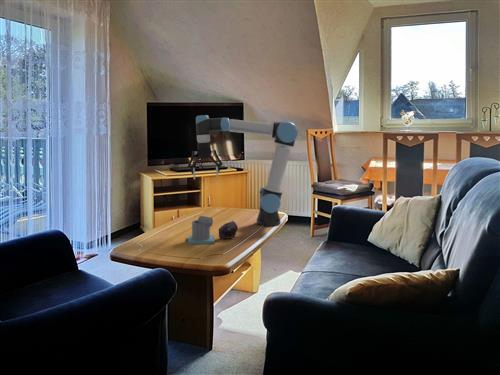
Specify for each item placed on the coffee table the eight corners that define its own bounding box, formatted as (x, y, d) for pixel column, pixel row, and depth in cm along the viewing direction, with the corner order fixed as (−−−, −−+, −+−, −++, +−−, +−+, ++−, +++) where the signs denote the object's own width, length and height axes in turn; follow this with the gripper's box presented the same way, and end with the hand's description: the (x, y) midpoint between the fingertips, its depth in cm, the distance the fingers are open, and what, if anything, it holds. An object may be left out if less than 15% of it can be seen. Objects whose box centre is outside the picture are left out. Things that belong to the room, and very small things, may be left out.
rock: (216, 240, 243) (231, 242, 238) (214, 225, 241) (229, 228, 235) (229, 232, 253) (243, 235, 247) (227, 218, 250) (242, 220, 245)
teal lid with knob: (213, 237, 244) (213, 227, 243) (214, 243, 232) (214, 233, 231) (188, 238, 242) (187, 228, 241) (187, 244, 230) (187, 234, 230)
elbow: (188, 238, 236) (188, 216, 234) (199, 235, 243) (199, 213, 241) (204, 241, 230) (204, 218, 228) (215, 237, 238) (215, 215, 236)
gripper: (224, 141, 263) (226, 176, 266) (181, 143, 259) (184, 179, 261) (225, 141, 256) (227, 177, 259) (182, 143, 251) (185, 180, 254)
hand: (206, 178), depth 260 cm, fingers open, 13 cm apart
